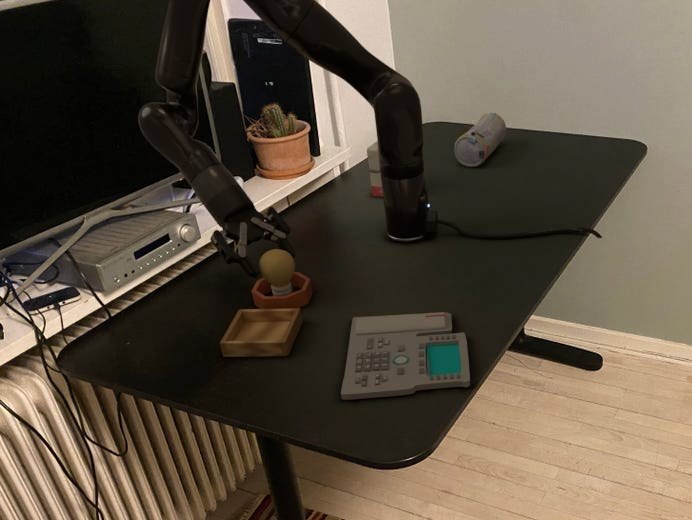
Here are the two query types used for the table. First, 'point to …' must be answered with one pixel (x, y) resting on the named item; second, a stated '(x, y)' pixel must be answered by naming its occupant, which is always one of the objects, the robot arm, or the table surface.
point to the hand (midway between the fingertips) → (275, 266)
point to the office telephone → (404, 355)
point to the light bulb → (278, 271)
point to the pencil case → (480, 140)
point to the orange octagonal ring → (283, 302)
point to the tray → (261, 332)
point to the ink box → (374, 169)
